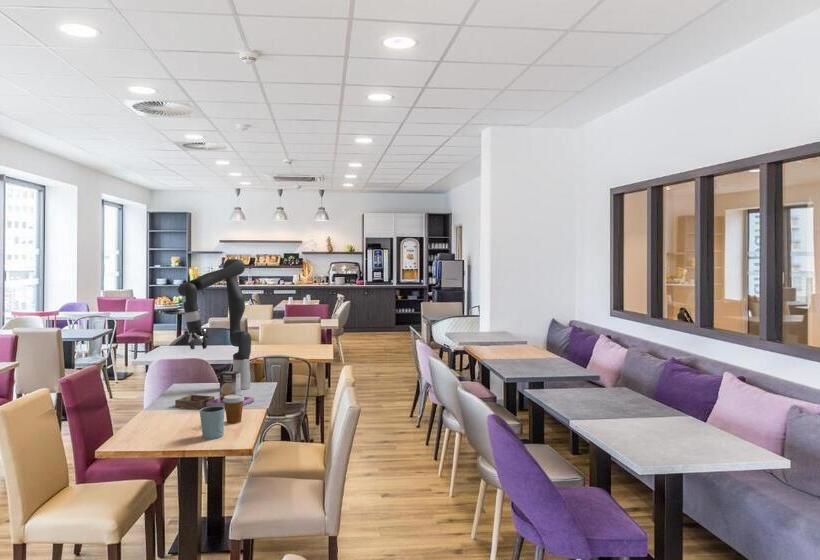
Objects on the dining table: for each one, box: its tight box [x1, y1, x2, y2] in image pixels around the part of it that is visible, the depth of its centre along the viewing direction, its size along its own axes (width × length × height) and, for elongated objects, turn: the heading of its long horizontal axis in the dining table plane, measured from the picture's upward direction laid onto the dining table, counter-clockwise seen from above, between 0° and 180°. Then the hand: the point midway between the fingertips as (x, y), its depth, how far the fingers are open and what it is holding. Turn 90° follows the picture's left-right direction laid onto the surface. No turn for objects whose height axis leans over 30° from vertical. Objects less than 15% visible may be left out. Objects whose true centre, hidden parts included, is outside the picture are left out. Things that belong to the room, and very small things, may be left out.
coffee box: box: [219, 370, 242, 404], centre depth 308 cm, size 9×6×16 cm
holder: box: [174, 394, 215, 410], centre depth 307 cm, size 13×14×4 cm
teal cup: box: [199, 406, 226, 440], centre depth 254 cm, size 10×10×12 cm
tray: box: [206, 395, 255, 408], centre depth 308 cm, size 17×17×2 cm
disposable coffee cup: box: [223, 394, 245, 425], centre depth 276 cm, size 10×10×12 cm
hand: (198, 348), depth 322 cm, fingers open, 8 cm apart
